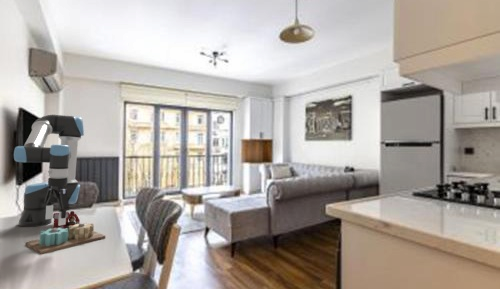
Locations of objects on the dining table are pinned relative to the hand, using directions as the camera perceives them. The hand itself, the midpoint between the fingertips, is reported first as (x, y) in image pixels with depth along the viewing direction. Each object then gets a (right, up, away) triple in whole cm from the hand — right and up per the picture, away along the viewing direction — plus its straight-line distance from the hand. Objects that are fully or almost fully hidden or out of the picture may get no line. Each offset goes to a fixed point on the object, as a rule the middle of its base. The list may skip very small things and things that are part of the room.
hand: (55, 221), depth 128 cm
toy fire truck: (-8, -11, +20) cm, 24 cm away
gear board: (+3, -11, +4) cm, 12 cm away
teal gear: (0, -9, -1) cm, 9 cm away
